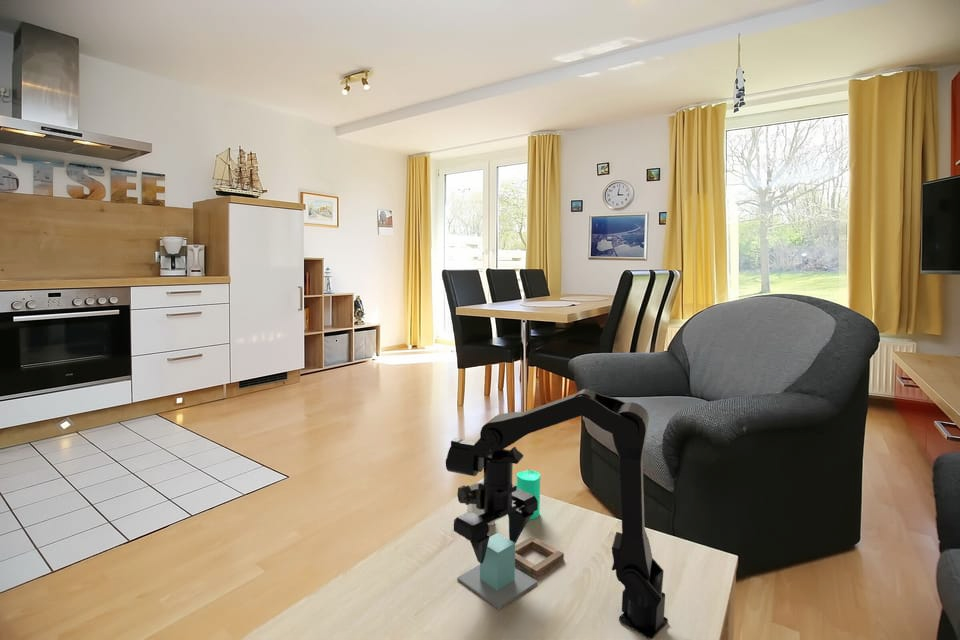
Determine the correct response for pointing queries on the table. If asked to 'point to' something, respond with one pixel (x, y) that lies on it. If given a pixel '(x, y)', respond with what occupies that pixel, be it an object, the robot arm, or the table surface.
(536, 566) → the frame
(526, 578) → the mat
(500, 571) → the teal rectangular block
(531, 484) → the candle
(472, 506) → the white cube
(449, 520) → the table surface
